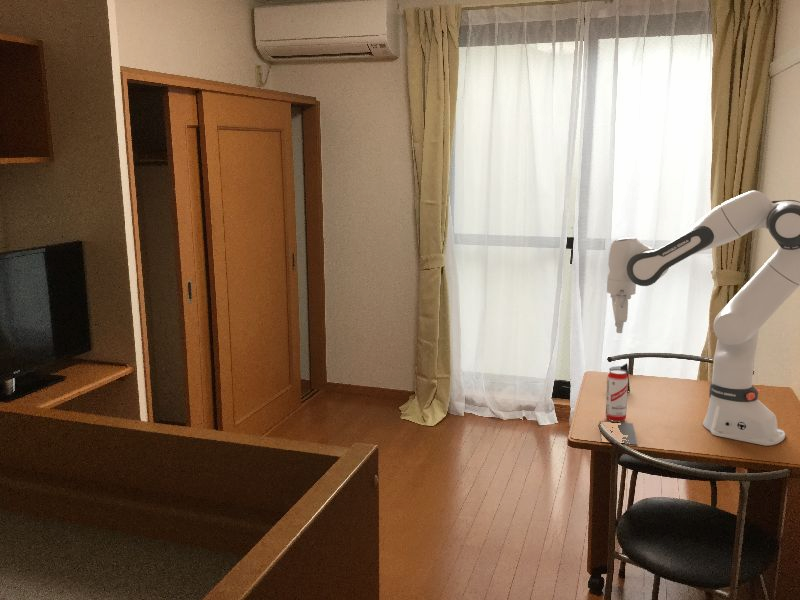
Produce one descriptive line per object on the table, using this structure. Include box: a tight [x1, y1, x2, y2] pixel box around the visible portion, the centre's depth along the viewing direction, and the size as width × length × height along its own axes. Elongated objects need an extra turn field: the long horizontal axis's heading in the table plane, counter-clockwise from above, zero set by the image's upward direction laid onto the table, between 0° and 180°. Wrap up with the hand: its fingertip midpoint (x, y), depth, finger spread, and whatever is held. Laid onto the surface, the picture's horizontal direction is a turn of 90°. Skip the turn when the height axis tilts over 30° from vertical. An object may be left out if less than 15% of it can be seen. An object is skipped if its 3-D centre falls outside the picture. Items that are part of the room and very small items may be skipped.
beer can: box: [605, 369, 629, 422], centre depth 220 cm, size 6×6×16 cm
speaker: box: [609, 362, 631, 393], centre depth 248 cm, size 8×6×10 cm
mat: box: [610, 422, 638, 446], centre depth 210 cm, size 17×10×1 cm, turn 166°
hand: (618, 329), depth 224 cm, fingers open, 7 cm apart
